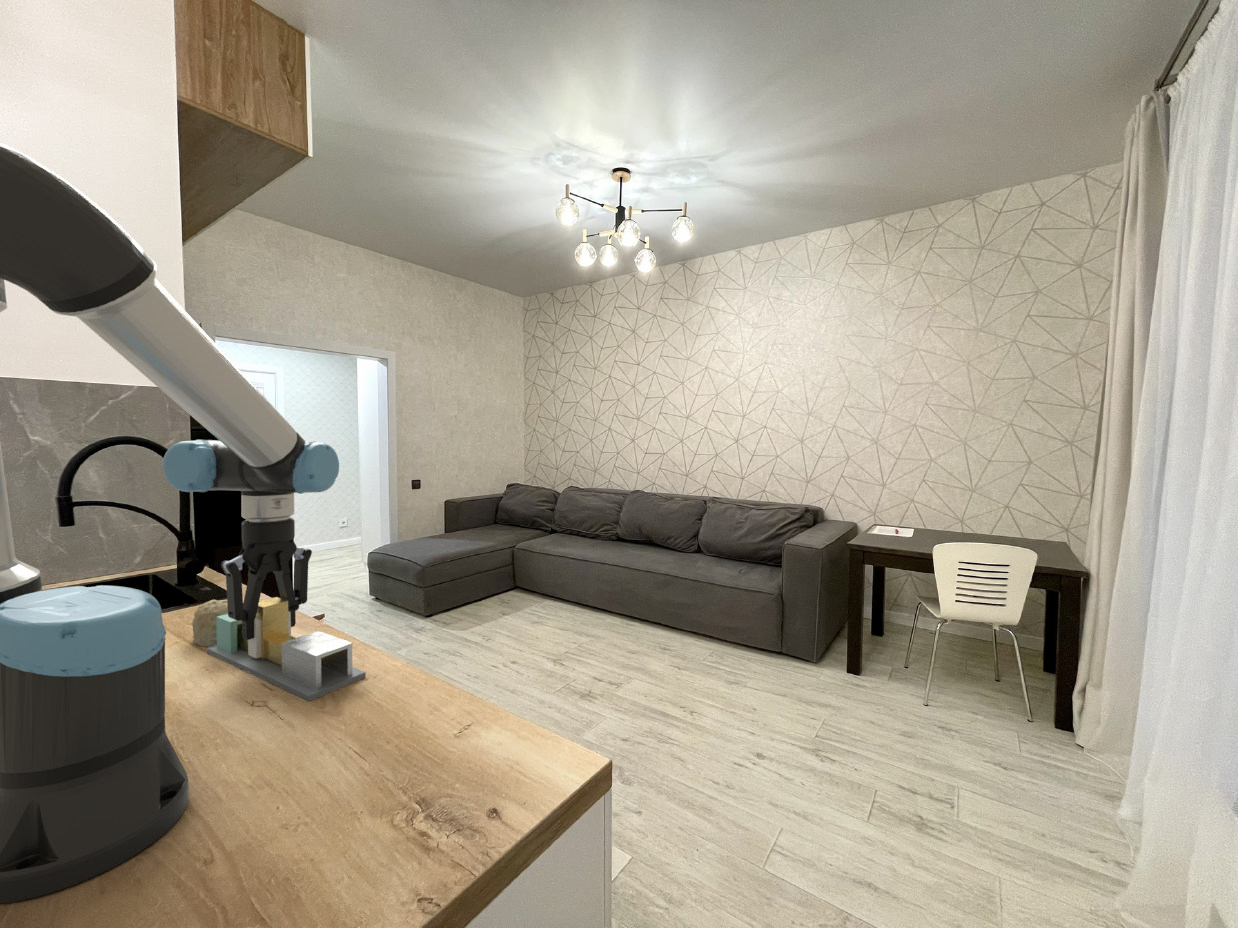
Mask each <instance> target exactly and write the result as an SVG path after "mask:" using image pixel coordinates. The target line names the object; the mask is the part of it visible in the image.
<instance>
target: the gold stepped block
mask: <svg viewBox="0 0 1238 928" xmlns="http://www.w3.org/2000/svg"><path fill="white" fill-rule="evenodd" d="M256 618H259V619H261V657H260V658H261V659H263V660H264V659H268V660H270V661H273V662H275V663H277V664H280V665H282V642H285V641H288V640H291V639H294V638H296V637H295V636H292V635H291V636H290V635H288V601H287V600H284V599H281V597H278V596H274V597H271V598H267V599H262V600H259V604H258V609H257V614H256ZM237 646H238V647H241V648H243V649H245V650H247V651H248V640H247V639H244V638H243V636H242V627H240V628H237Z"/></svg>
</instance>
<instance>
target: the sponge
mask: <svg viewBox="0 0 1238 928" xmlns="http://www.w3.org/2000/svg"><path fill="white" fill-rule="evenodd" d="M225 614H228V604H227V600H224V599H222V600H217V599H211V600H209V601H206V602H204V603H202V604H199V605H198V606H197V608H196V610H195V612H194V614H193V615H194V616H193V618H192V632H193V637H192V638H193V643H194V644H196V645H198V646H200V647H201V646H202V647H213V646H216V645H217V620H216V617H217V616H221V615H225Z"/></svg>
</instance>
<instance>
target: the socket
mask: <svg viewBox="0 0 1238 928" xmlns="http://www.w3.org/2000/svg"><path fill="white" fill-rule="evenodd" d="M216 620H217V648H220V649H222V650H224V651H226V652H228V653H230V654H231V653H234V652H237V628H240V627H242V620H239V621H238V620H235V619H232V618H230V617H229V616H228V614H225V615H221V616H217V617H216Z"/></svg>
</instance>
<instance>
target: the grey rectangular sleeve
mask: <svg viewBox="0 0 1238 928" xmlns="http://www.w3.org/2000/svg"><path fill="white" fill-rule="evenodd" d="M321 666H323V667H326V668H328V669H331V670H333V671H335V672H338V673H340V674H343V675H345V676H350V675H352V667H353V642H351V641H348V640H345V639H342V638H339V637H336V636H334V635H331V634H329V633H325V632H322V631H319V630H317V631H314V632H311V633H307V634H304V635H301V636H298V637H295V638H294V639H291V640H288V641H285V642H282V674H283V675H285V676H287V677H289V678H291V679H294V680H296V681H298V682H300V683H302V684H305V685H307V686H309V687H311V688H313V689H319V688H321Z"/></svg>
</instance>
